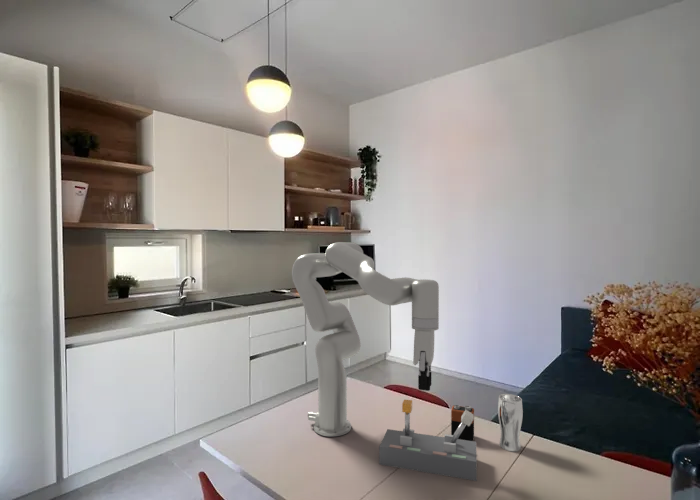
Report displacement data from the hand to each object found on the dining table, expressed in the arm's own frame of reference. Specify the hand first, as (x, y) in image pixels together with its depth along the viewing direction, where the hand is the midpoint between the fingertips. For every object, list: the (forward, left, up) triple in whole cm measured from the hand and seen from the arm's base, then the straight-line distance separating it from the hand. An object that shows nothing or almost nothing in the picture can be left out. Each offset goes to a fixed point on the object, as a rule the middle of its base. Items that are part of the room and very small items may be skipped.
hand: (424, 386), depth 111 cm
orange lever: (-5, 0, -16) cm, 16 cm away
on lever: (+7, 0, -16) cm, 17 cm away
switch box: (+1, 0, -21) cm, 21 cm away
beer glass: (+24, +16, -21) cm, 36 cm away
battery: (+10, +18, -21) cm, 30 cm away
